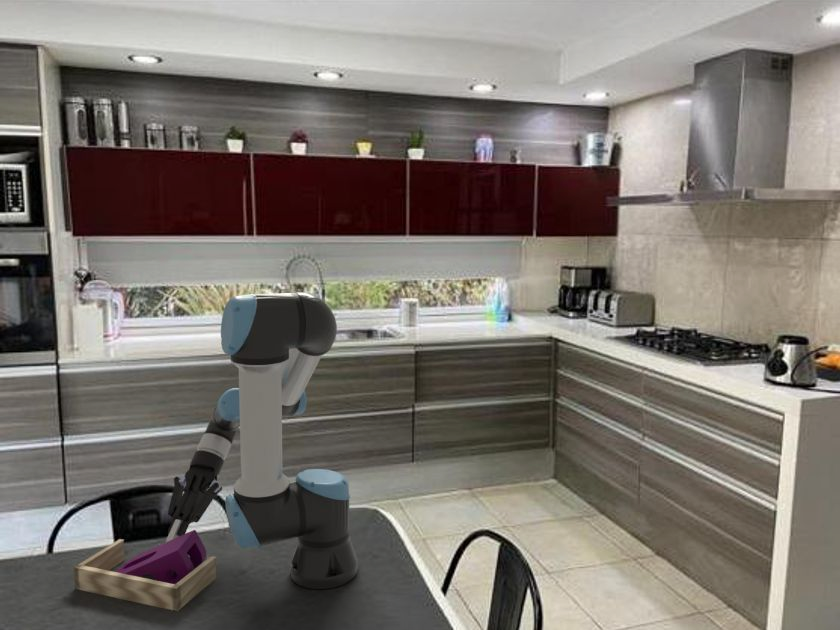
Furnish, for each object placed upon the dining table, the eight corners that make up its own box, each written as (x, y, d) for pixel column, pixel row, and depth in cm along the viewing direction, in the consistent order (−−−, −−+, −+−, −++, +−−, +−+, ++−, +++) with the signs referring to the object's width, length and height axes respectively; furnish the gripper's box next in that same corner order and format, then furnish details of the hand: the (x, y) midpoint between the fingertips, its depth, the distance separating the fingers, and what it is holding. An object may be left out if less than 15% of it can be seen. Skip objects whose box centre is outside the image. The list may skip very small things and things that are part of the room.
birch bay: (216, 577, 143) (215, 557, 142) (177, 611, 130) (176, 588, 129) (120, 558, 150) (119, 539, 150) (75, 588, 138) (73, 567, 137)
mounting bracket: (124, 614, 139) (195, 583, 137) (106, 581, 138) (177, 550, 136) (145, 590, 148) (212, 560, 146) (128, 559, 147) (195, 529, 145)
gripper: (239, 465, 161) (200, 558, 148) (195, 459, 165) (154, 549, 152) (225, 452, 156) (184, 548, 142) (181, 446, 160) (137, 539, 146)
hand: (168, 549), depth 147 cm, fingers closed
